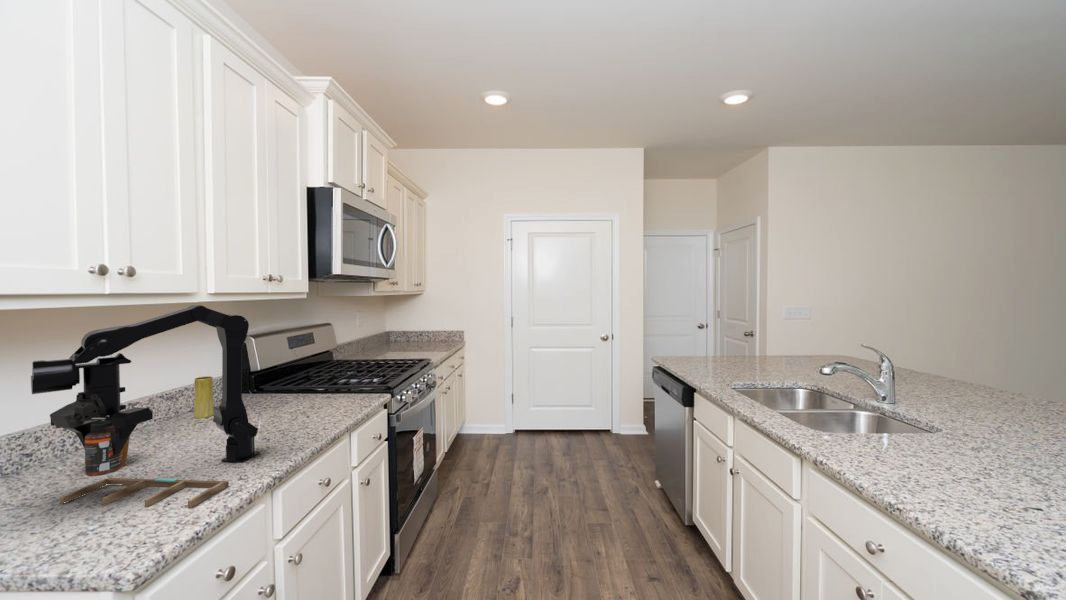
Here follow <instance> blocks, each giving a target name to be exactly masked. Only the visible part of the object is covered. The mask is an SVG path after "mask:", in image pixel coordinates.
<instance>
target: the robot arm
mask: <svg viewBox="0 0 1066 600" xmlns="http://www.w3.org/2000/svg"><path fill="white" fill-rule="evenodd" d="M195 322H199V323H202V324H205V325H206V326H209V327H213V328H216V333H217V338H218V341H219V343H220V345H221V348H222V355H221V356H222V359H221V360H222V361H221V362H222V366H221V367H222V370H221V371H222V373H221V374H222V375H221V376H222V377H221V378H222V382H221V384H222V387H221V390H222V391H221V395H222V396H221V401H220V404H219V406H214V407H213V411H214V415H213V419H212V422H213V423H214V424H215V426H216V427H217V429H220V430H221V431H223V432H224V434H225V435H227V436H228V437H227V438H226V445H225V457H224V458H222V459H221V462H225V463H226V462H227V463H231V462H232V463H245V462H247V461H248V460H250V459H252V458H254V457H255V456H257V455H260V453H261V451H259V450H257V451H256V449H255V437H256V436H257V434H258V432H259V428H258V427H257V426H255V425H253V424H252V423H250V422H249V416H248V412H247V408H246V406H245V404H244V400H243V397H242V396H243V346H244V344H245V342H246V339H247V337H248V332H249V327H250V326H249V325H250V324H249V321H248V319H247V318H246V317H244V316H242V315H239V314H238V315H237V314H226V313H223V312H220V311H217V310H213V309H211V308H208V307H207V306H204V305H201V304H194V305H192V304H191V305H190V306H188V307H186V308H182V309H179V310H176V311H172V312H169V313H166V314H165V313H164V314H163V315H158V316H155V317H153V318H149V319H145V320H142V321H138V322H136V323H132V324H126V325H119V326H118V325H117V326H111V327H106V328H99V329H93V330H91V331H89V332H87V333H85V334H84V335H83V337H82V338H81V341H80V346H79V348H77V349H76V350H75V351H74V353H72V354H71V356H70V357H69V358H67V359H66V358H64V359H63V358H62V359H51V360H43V359H42V360H33V361H32V362H31V364H32V366H31V370H32V372H31V373H32V374H31V375H30V388H31V395H38V394H44V393H45V394H46V393H54V392H55V393H56V392H60V391H70V390H72V389H73V387H74V386H76V387H77V385H80V380H81V374H80V369H82V370H83V371H82V374H83V375H82V377H83V391H81V392H77V394H76V400H75V401H73V402H71V403H69V404H66V405H65V406H63V407H61V408H59V409H57V410H55V411H54V412H52V413H50V414H49V418H50V426H54V427H55V428H56V429H61V428H62V429H64V430H68V431H70V432H73V434H75V435H76V436H77V438H78V439H79V441H80V443H81V445H82V447H83V448H84V449H85V436H86V435H87V434H89V433H90V432H91V424H92V423H95V422H99V421H102V420H105V421H111V424H112V425H113V426H109V427H106V428H104V429H105V430H107V431H108V432H110V433H111V442H112V450H113V454H114V455H117V454H119V453H120V452H121V451H122V449H123V447H124V445H125V443H126V442H127V440H128V438H129V436H130V437H131V435H132V433H133V432H134V430H135V429H136V428H137V426H138V425H139V424H141V423H145V422H148V421H150V420H153V418H154V417H153V412H154V411H153V409H152V408H150V407H132V408H128V409H127V405H126V404H121V393H124V392H126V386H121V381H120V380H121V377H120V375H121V373H120V372H121V371H120V369H121V368H120V365H125V364H127V365H128V364H131V363H132V360H131V359H129V358H127V357H126V356H125V355H123V353H121V352H120V351H122V350H125V349H126V348H128V347H130V346H131V345H133V344H135V343H137V342H139V341H141V340H143V339H146V338H149V337H152V336H155V335H157V334H160V333H161V334H162V333H165V332H168V331H170V330H174V329H177V328H180V327H183V326H187V325H189V324H192V323H195ZM117 352H119V353H117ZM116 353H117V354H116ZM113 354H116V355H115V356H111V355H113ZM107 356H111V357H107ZM102 357H103V358H102ZM94 360H96V361H95V362H92V361H94Z"/></svg>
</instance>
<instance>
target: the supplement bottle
mask: <svg viewBox="0 0 1066 600" xmlns="http://www.w3.org/2000/svg"><path fill="white" fill-rule="evenodd" d="M109 426H113V425H112V424H111V421H99V422H95V423H92V424H91V432H90V433H89V434H87V435H86V436H85V448H84V465H85V466H84V470H85V471H84V474H85V475H86V476H88V477H100V476H104V475H109V474H112V473H114V472H117V471H119V470H120V469H122V468H123V466H122V451H121V452H120V453H119V454H117V455H114V454H113V450H112V442H111V433H110V432H108V431H107V430H105V429H104V428H106V427H109Z"/></svg>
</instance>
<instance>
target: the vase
mask: <svg viewBox="0 0 1066 600" xmlns="http://www.w3.org/2000/svg"><path fill="white" fill-rule="evenodd" d="M213 388H214V387H213V376H210V375H209V376H199V377H196V378H194V410H193V418H194V419H203V418H209V417H214V411H213V407H215V404H214V393H213V392H214V391H213V390H214V389H213Z"/></svg>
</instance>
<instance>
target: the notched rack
mask: <svg viewBox="0 0 1066 600" xmlns="http://www.w3.org/2000/svg"><path fill="white" fill-rule="evenodd" d="M229 482H230V481H229V480H227V481H226V480H199V479H198V480H192V479H190V480H189V479H188V480H187V479H179V478H175V477H173V478H171V477H158V478H155V479H154V478H124V477H123V478H122V477H121V478H120V477H119V478H117V477H109V478H103V479H100V480H98V481H96V482H94V483H91V484H89V485H86V486H83V487H81V488H79V489H76V490H74V491H71V492H69V493H67V494H65V495H62V496H60V497H59V504H60V503H64V502H67V501H70V500H72V501H74V500H76V499H75V498H77V497H79V496H81V497H83V496H82V495H84V494H86V495H88V494H90V493H89V492H91V493H93V492H95V491H97V490H96V489H98V488H100V487H102V486H105V485H106V484H122V485H121V486H126V485H131V486H126V487H124V488H122V489H120V490H117V491H116V492H113V493H111V494H109V495H106V496H104V497H102V498H101V506H107V505H106V504H108V503H110V504H112V503H114V502H116V501H118V500H120V499H122V498H124V496H125V497H127V496H129V495H131V494H133V493H135V492H137V491H140V490H142V489H144V488H145V487H166V488H165V489H163V490H161V491H159V492H157V493H154V495H151V496H149V497H147V498H145V499H144V501H143V502H144V507H145V508H146V507H147V508H148V507H151V506H152V505H154V504H156V503H158V502H160V501H162V500H163V499H166V498H168V497H169V496H171V495H174V494H175V493H177V492H179V491H182V490H183V489H185V488H205V489H207V490H205V491H203V492H201V493H199V494H198V495H196V496H195V497H192V498H190V499H189V500H188V501H187V508H188V509H192V508H194V507H195V506H198V505H199V504H201V503H203V502H204V501H206V500H208V499H209V498H212V496H215V495H216V494H219V492H221V491H224V490H225V489H226V488H228V487H229ZM105 487H106V486H105ZM102 488H103V487H102ZM100 489H101V488H100ZM94 490H95V491H94ZM98 490H99V489H98ZM92 491H93V492H92ZM87 493H88V494H87ZM84 496H85V495H84ZM79 498H80V497H79ZM73 499H74V500H73ZM77 499H78V498H77ZM115 500H116V501H115ZM113 501H114V502H113ZM70 502H71V501H70ZM111 502H112V503H111ZM67 503H68V502H67ZM108 505H109V504H108Z"/></svg>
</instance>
